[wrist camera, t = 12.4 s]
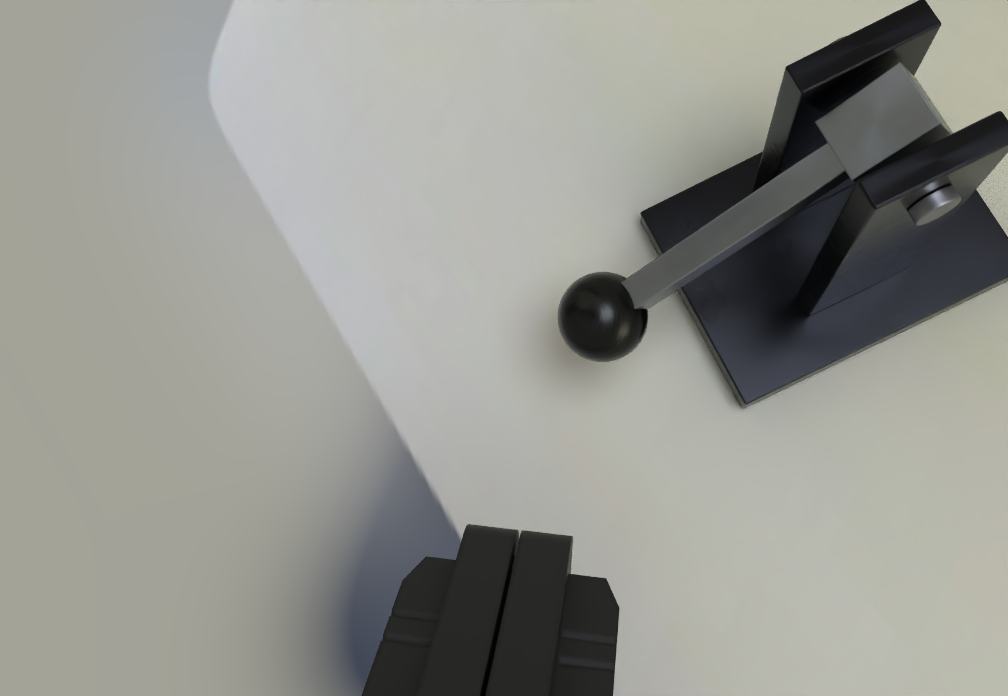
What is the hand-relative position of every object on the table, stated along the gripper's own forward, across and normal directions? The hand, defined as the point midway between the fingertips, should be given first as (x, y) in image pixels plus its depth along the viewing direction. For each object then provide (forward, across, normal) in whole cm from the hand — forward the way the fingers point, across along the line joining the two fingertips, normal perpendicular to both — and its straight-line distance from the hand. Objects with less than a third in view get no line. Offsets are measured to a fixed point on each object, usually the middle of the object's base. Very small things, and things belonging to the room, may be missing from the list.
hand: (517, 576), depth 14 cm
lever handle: (+21, -5, +3) cm, 22 cm away
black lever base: (+28, -9, +6) cm, 30 cm away
